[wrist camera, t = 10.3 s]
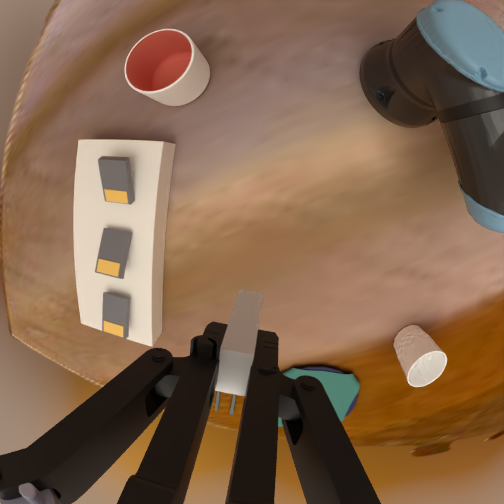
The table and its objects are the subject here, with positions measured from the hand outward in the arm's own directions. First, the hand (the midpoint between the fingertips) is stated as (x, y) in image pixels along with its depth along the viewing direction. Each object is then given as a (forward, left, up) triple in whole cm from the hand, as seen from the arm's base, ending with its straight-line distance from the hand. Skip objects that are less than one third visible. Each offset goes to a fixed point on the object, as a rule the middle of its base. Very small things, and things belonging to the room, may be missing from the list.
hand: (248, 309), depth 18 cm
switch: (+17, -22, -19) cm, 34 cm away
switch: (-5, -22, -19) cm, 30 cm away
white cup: (+16, +31, -27) cm, 44 cm away
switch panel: (+6, -24, -26) cm, 36 cm away
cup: (-22, -17, -27) cm, 39 cm away
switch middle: (+6, -22, -19) cm, 30 cm away
